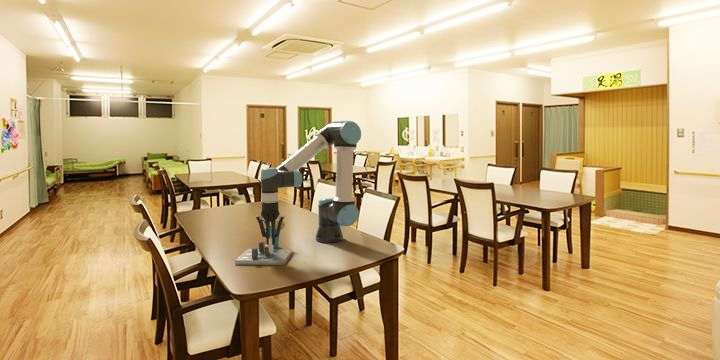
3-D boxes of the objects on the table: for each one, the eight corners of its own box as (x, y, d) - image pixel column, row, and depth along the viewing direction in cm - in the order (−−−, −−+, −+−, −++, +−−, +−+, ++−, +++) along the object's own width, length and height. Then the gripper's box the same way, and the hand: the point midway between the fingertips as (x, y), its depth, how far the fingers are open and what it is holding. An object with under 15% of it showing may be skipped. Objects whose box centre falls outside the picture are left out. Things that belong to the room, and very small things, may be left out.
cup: (258, 250, 199) (257, 221, 197) (256, 247, 206) (255, 218, 205) (286, 248, 204) (285, 219, 203) (283, 244, 211) (282, 216, 210)
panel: (292, 253, 195) (292, 240, 194) (283, 265, 177) (283, 251, 176) (248, 252, 196) (247, 240, 195) (235, 264, 178) (234, 250, 177)
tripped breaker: (270, 253, 187) (270, 244, 187) (269, 254, 185) (268, 246, 184) (266, 252, 187) (266, 244, 187) (264, 254, 185) (264, 246, 184)
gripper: (285, 200, 187) (286, 249, 189) (258, 200, 187) (259, 249, 190) (282, 202, 179) (283, 254, 182) (253, 202, 180) (255, 253, 182)
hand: (271, 251), depth 186 cm, fingers closed
